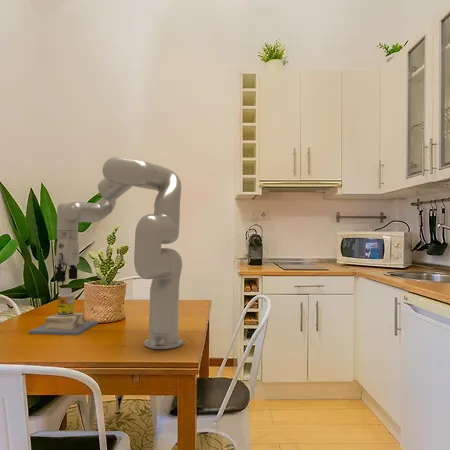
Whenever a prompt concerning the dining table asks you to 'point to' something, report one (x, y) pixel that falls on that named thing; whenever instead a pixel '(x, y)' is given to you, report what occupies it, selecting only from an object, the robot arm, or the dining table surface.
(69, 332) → the grey flat square slab
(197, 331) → the dining table surface
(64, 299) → the supplement bottle
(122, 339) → the dining table surface
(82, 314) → the riser block
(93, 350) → the dining table surface
